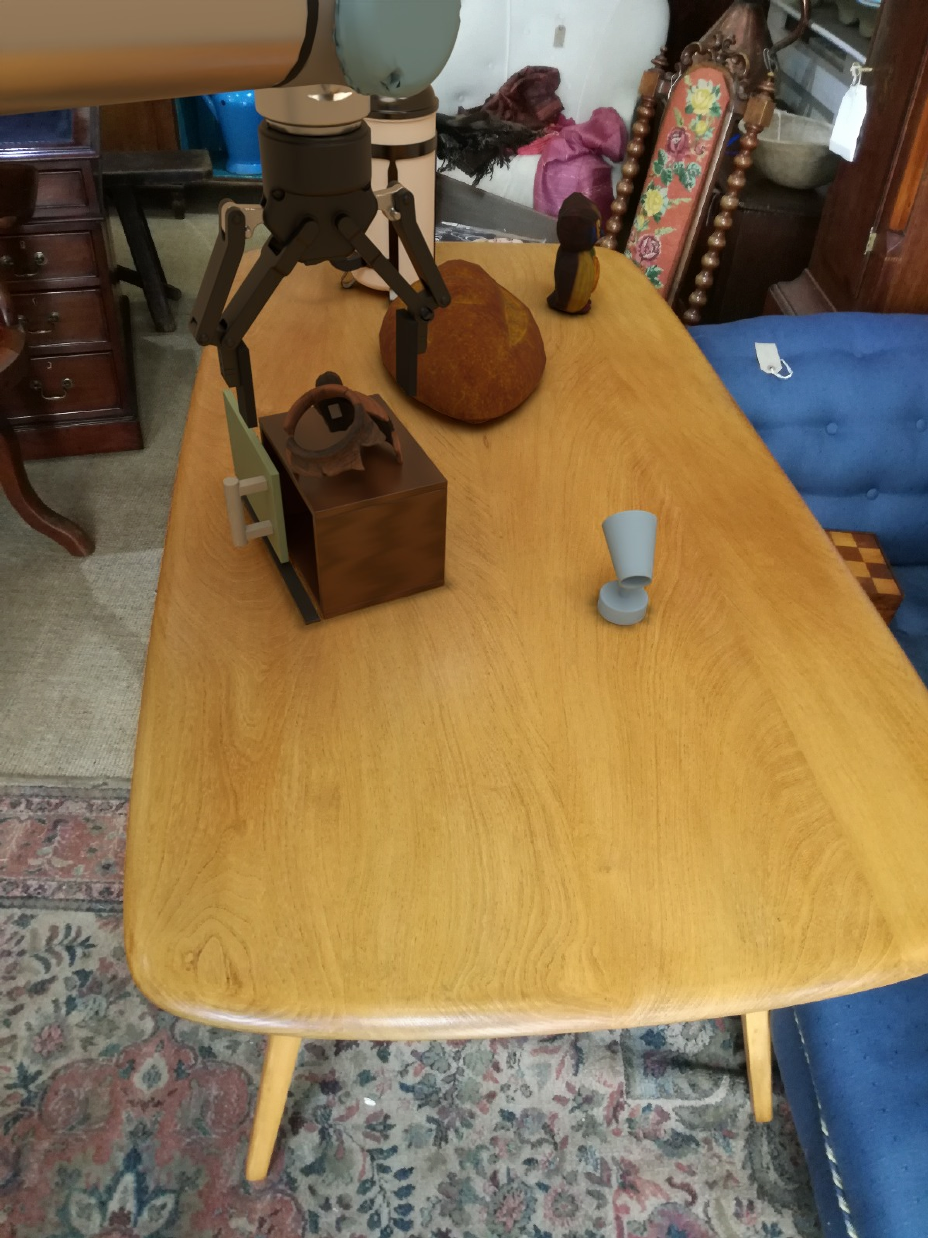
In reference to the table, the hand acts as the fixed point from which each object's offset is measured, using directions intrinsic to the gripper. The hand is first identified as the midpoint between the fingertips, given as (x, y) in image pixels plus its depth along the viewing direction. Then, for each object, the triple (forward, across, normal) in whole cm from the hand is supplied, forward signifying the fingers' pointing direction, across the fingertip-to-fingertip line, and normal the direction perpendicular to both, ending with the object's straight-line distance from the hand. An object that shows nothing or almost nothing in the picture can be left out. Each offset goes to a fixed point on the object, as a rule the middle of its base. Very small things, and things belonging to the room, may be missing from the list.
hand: (329, 404), depth 76 cm
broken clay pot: (+7, +1, +1) cm, 7 cm away
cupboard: (+18, +2, +5) cm, 19 cm away
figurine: (+18, +51, +43) cm, 69 cm away
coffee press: (+18, +29, +58) cm, 67 cm away
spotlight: (+18, +23, -14) cm, 32 cm away
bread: (+18, +29, +33) cm, 47 cm away
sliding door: (+17, -6, +11) cm, 21 cm away
